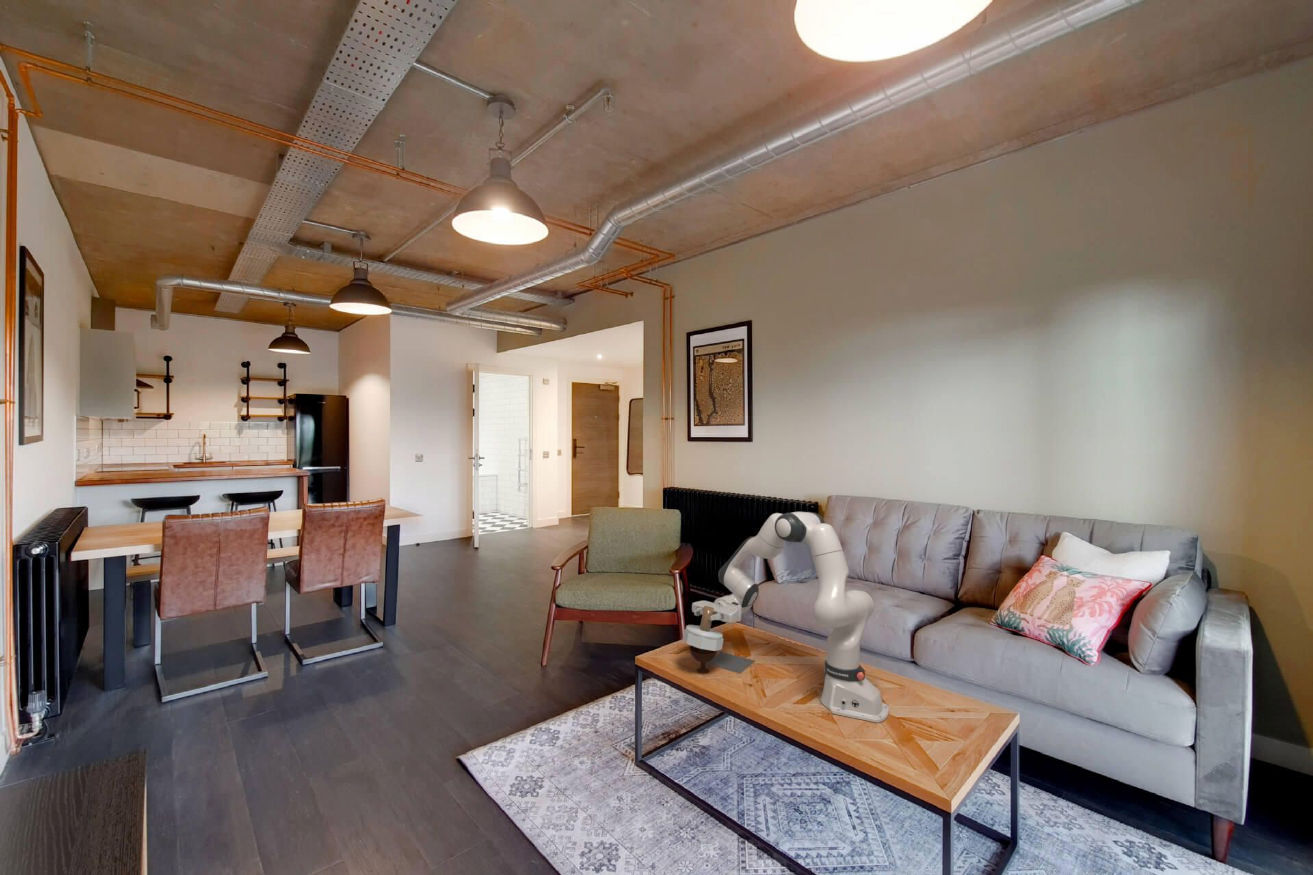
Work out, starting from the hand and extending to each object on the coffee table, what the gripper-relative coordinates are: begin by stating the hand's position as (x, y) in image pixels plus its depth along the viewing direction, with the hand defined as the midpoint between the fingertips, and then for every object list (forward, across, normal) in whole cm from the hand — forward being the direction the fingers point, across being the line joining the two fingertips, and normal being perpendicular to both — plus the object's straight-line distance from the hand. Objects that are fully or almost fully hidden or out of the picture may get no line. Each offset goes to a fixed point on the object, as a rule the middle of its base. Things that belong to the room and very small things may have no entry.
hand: (702, 615), depth 220 cm
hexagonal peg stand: (0, 0, +11) cm, 11 cm away
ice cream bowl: (-1, 0, +23) cm, 23 cm away
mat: (-16, +2, +22) cm, 27 cm away
